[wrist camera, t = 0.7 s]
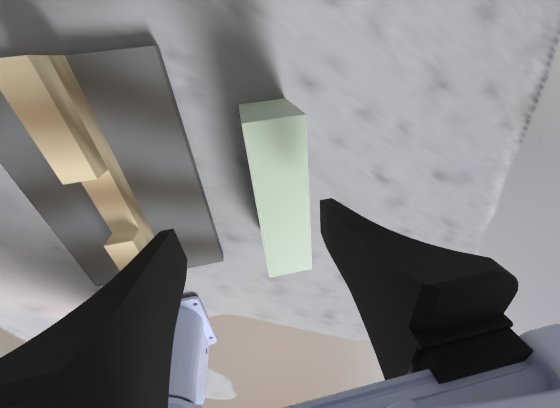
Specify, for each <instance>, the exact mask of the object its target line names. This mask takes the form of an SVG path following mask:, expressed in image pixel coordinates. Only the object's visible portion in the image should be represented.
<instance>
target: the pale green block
mask: <svg viewBox="0 0 560 408" xmlns="http://www.w3.org/2000/svg"><path fill="white" fill-rule="evenodd" d="M238 106H239V112H240V118H241V125H242V130H243V136H244V141H245V147H246V152H247V158H248V163H249V169H250V174H251V180H252V185H253V191H254V196H255V202H256V207H257V213H258V218H259V224H260V229H261V235H262V240H263V246H264V251H265V257H266V262H267V268H268V273H269V278H270V277H275V276H280V275H285V274H290V273H294V272H299V271H304V270H309V269H312V255H311V229H310V203H309V177H308V151H307V125H306V114H305V113H304V112H302V111H301V110H300V109H299V108H297V107H296V106H295V105H293V104H292V103H291V102H289V101H288V100H287V99H285V98H282V99H275V100H267V101H260V102H253V103H245V104H238Z"/></svg>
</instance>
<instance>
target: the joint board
mask: <svg viewBox="0 0 560 408" xmlns="http://www.w3.org/2000/svg"><path fill="white" fill-rule="evenodd" d="M0 163H1V165H2V166H3V167H4V168H5V170H6V171H7V172H8V174H9V175H10V176H11V177H12V179H13V180H14V181H15V183H16V184H17V185H18V186H19V188H20V189H21V190H22V192H23V193H24V194H25V195H26V197H27V198H28V199H29V201H30V202H31V203H32V204H33V206H34V207H35V208H36V210H37V211H38V212H39V213H40V215H41V216H42V217H43V219H44V220H45V221H46V222H47V224H48V225H49V226H50V227H51V229H52V230H53V231H54V233H55V234H56V235H57V236H58V238H59V239H60V240H61V242H62V243H63V244H64V245H65V247H66V248H67V249H68V251H69V252H70V253H71V254H72V256H73V257H74V258H75V260H76V261H77V262H78V263H79V265H80V266H81V267H82V269H83V270H84V271H85V272H86V274H87V275H88V276H89V278H90V279H91V280H92V281H93V283H94V284H95V285H96V286H100V285H105V284H107V283H108V282H109V281H110V280H111V279H113V278H114V277H115V276H116V275H117V274H118V273H119V272H120V271H121V270H122V269H123V268H124V267H125V266H126V265H127V264H128V263H129V262H130V261H131V260H132V259H133V258H134V257H135V256H136V255H137V254H138V253H139V252H140V251H141V250H142V249H143V248H144V247H145V246H146V245H147V244H148V243H149V242H150V241H151V240H152V239H153V238H154V237H155V236H156V235H157V234H158V233H159V232H160V231H163V230H168V229H173V228H174V230H175V233H176V235H177V237H178V239H179V242H180V244H181V246H182V248H183V251H184V253H185V255H186V257H187V268H191V267H196V266H201V265H207V264H212V263H217V262H222V261H223V252H222V248H221V245H220V242H219V239H218V236H217V232H216V229H215V226H214V223H213V220H212V216H211V213H210V210H209V207H208V203H207V200H206V197H205V194H204V191H203V187H202V184H201V181H200V178H199V174H198V171H197V168H196V165H195V162H194V158H193V155H192V152H191V149H190V145H189V142H188V139H187V136H186V133H185V129H184V126H183V123H182V120H181V117H180V113H179V110H178V107H177V104H176V100H175V97H174V94H173V91H172V88H171V84H170V81H169V78H168V75H167V71H166V68H165V65H164V62H163V59H162V55H161V52H160V49H159V46H155V45H154V46H145V47H136V48H126V49H117V50H108V51H99V52H90V53H81V54H72V55H22V56H13V57H4V58H0Z"/></svg>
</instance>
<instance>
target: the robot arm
mask: <svg viewBox="0 0 560 408" xmlns="http://www.w3.org/2000/svg"><path fill="white" fill-rule="evenodd" d="M320 223H321V234H322V237H323V240H324V242H325V245H326V247H327V249H328V251H329V253H330V255H331V257H332V259H333V260H334V262H335V264H336V266H337V268H338V269H339V271H340V273H341V275H342V277H343V278H344V280H345V282H346V284H347V286H348V288H349V290H350V292H351V294H352V296H353V298H354V301H355V303H356V306H357V308H358V310H359V313H360V315H361V318H362V320H363V322H364V325H365V327H366V330H367V332H368V335H369V338H370V340H371V343H372V345H373V348H374V351H375V353H376V356H377V359H378V362H379V364H380V367H381V370H382V372H383V375H384V378H385V381H381V382H377V383H374V384H370V385H366V386H362V387H359V388H355V389H351V390H348V391H344V392H340V393H336V394H333V395H328V396H325V397H321V398H317V399H313V400H310V401H306V402H302V403H298V404H295V405H291V406H287V407H284V408H560V324H553V325H549V326H545V327H542V328H538V329H534V330H530V331H528V332H525V333H523V334H522V335H520V336H518V335H517V334H516V333H515V332H513V330H512V329H511V328H510V327H512V326H513V323H512V321H511V320H510V319H509V318H507V316H505V315H504V314H503V313H504V312H505V310H506V309H507V307H508V306H509V304H510V303H511V301H512V300H513V298H514V297H515V295H516V293H517V291H518V281H517V279H516V277H514V276H513V275H512V274H511V273H510V272H508V271H507V270H506V269H504V268H503V267H502V266H500V265H499V264H498V263H497V262H495V261H494V260H493V259H491V258H488V257H483V256H478V255H473V254H468V253H463V252H458V251H454V250H450V249H446V248H442V247H438V246H434V245H431V244H427V243H424V242H421V241H418V240H415V239H412V238H409V237H406V236H403V235H401V234H398V233H396V232H394V231H391V230H389V229H386V228H384V227H382V226H380V225H378V224H376V223H374V222H372V221H370V220H368V219H366V218H364V217H363V216H361V215H359V214H357V213H356V212H354V211H352V210H350V209H349V208H347V207H346V206H344V205H342V204H341V203H339V202H337V201H336V200H334V199H332V198H330V199H325V200H320ZM186 273H187V257H186V255H185V253H184V251H183V248H182V246H181V244H180V242H179V239H178V237H177V235H176V233H175V230H174V228H173V229H168V230H163V231H160V232H159V233H158V234H157V235H156V236H155V237H154V238H153V239H152V240H151V241H150V242H149V243H148V244H147V245H146V246H145V247H144V248H143V249H142V250H141V251H140V252H139V253H138V254H137V255H136V256H135V257H134V258H133V259H132V260H131V261H130V262H129V263H128V264H127V265H126V266H125V267H124V268H123V269H122V270H121V271H120V272H119V273H118V274H117V275H116V276H115V277H114V278H113V279H111V280H110V281H109V282H108V283H107V284H106V285H105V286H104V287H102V288H101V289H100V290H99V291H98V292H96V293H95V294H94V295H93V296H91V297H90V298H89V299H88V300H86V301H85V302H84V303H83V304H81V305H80V306H78V307H77V308H76V309H74V310H73V311H72V312H70V313H69V314H68V315H66V316H65V317H63V318H62V319H61V320H59V321H58V322H56V323H55V324H54V325H52V326H51V327H49V328H48V329H46V330H45V331H43V332H42V333H40V334H39V335H37V336H35V337H34V338H32V339H31V340H29V341H28V342H26V343H25V344H23V345H21V346H20V347H18V348H16V349H15V350H13V351H12V352H10V353H8V354H6V355H5V356H3V357H1V358H0V408H202V404H203V402H204V398H205V393H206V381H207V367H208V354H209V345H210V344H214V343H216V342H217V338H216V336H215V333H214V331H213V329H212V327H211V324H210V322H209V320H208V318H207V315H206V313H205V311H204V309H203V307H202V304H201V302H200V300H199V298H198V297H197V296H191V297H186V298H182V295H183V290H184V286H185V281H186Z"/></svg>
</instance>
